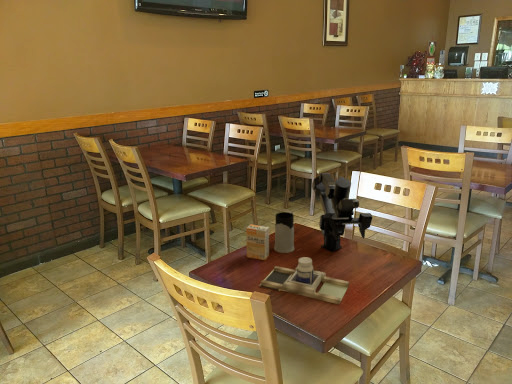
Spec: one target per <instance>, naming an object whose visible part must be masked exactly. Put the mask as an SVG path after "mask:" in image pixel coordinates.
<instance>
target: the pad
mask: <svg viewBox="0 0 512 384" xmlns="http://www.w3.org/2000/svg"><path fill="white" fill-rule="evenodd" d="M348 288H349V286H348V287H344V286H340V285H335V284H331V283H326V282H323V285H322V286H321V288H320V289H319V291H318V292H317V293H321V294H325V295H330V296H334V297H338V298H341V301H342V300H343V299H344V297H345V294H346V292H347V290H348Z"/></svg>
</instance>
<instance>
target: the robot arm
mask: <svg viewBox="0 0 512 384" xmlns="http://www.w3.org/2000/svg"><path fill="white" fill-rule="evenodd" d="M344 177H345V176H338V177H337V179H336V180H335V179H334V178H333V175H332V173H330V172H321V173H319V174H318V176H316V177H315V178H314V179H313V180H312V183H311V188H312V190H313V192H314V195H315V196H317V197H318V198H319V200H320V204H321V207H322V210H323V214H320V218H319V224H318V225H319V229H320V233H321V235H322V236H323V244H321V245H320V247H321V248H323V249H325V250H328V251H329V252H335V251H337V250H340V249H342V248H343V246H342V245H341V242H342V241H341V236H342V237H344V234H345V229H346V226H347V225H358V230H359V234H360V235H361V237H362V239H365V237H366V236H365V235H366V230H368V229H369V228H371V225H372V221H373V214H372V213H370V212H361V213H359V215H358V217H354V215H355V214H354V213H355V212H354V209H359V207H360V201H359V199H358V198H349V197H350V192H351V191H350V190H351V186H352V181H350V180H349V179H347V178H344Z"/></svg>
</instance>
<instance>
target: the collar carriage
mask: <svg viewBox="0 0 512 384" xmlns="http://www.w3.org/2000/svg"><path fill="white" fill-rule="evenodd" d="M287 282H291V283H295V284H300V285H304V286H308V287H313V288H316V289H317V288H318V287H319V285H320V284H321V274H317V273H313V284H312V285H309V284H305V283H300V282H297V270H296V272H295V273H294V274H293V275H292V276H291V278H290V279H289V280H288V281H287Z"/></svg>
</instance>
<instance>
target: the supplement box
mask: <svg viewBox="0 0 512 384" xmlns="http://www.w3.org/2000/svg"><path fill="white" fill-rule="evenodd" d="M245 230H246V258H247V259H248V258H249V259H255V260H261V261H266V260H267V259H268V258H269V256H270V255H269V254H270V226H266V225H265V226H264V225H257V224H252V223H250V224H249V225H248V226H246V229H245Z"/></svg>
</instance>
